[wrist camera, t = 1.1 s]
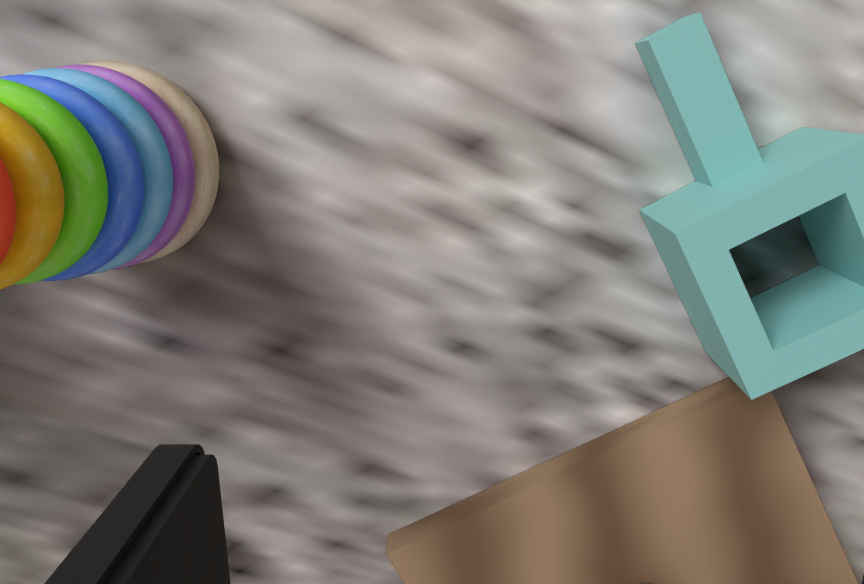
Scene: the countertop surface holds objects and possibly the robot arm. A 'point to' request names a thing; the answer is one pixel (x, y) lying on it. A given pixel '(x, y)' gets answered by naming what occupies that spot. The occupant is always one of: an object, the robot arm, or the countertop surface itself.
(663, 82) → the teal square scoop
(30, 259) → the stacking toy
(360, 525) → the countertop surface
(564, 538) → the post base
